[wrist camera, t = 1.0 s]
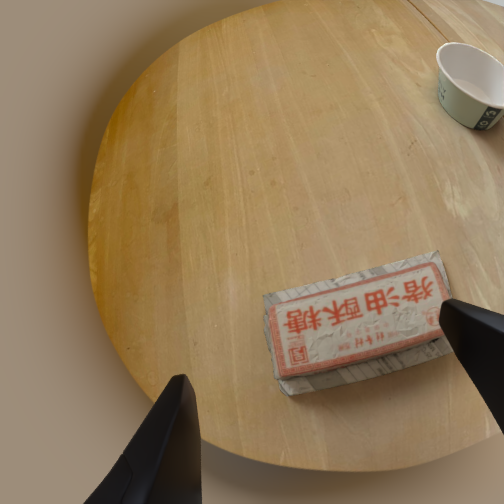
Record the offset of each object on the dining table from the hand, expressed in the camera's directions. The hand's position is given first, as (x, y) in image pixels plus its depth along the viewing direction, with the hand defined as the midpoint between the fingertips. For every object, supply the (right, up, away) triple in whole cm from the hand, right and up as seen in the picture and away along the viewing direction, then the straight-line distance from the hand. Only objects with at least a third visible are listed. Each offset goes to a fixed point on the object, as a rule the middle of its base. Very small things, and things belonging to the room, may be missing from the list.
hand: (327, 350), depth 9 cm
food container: (+27, +23, +21) cm, 41 cm away
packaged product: (+8, -4, +18) cm, 20 cm away
